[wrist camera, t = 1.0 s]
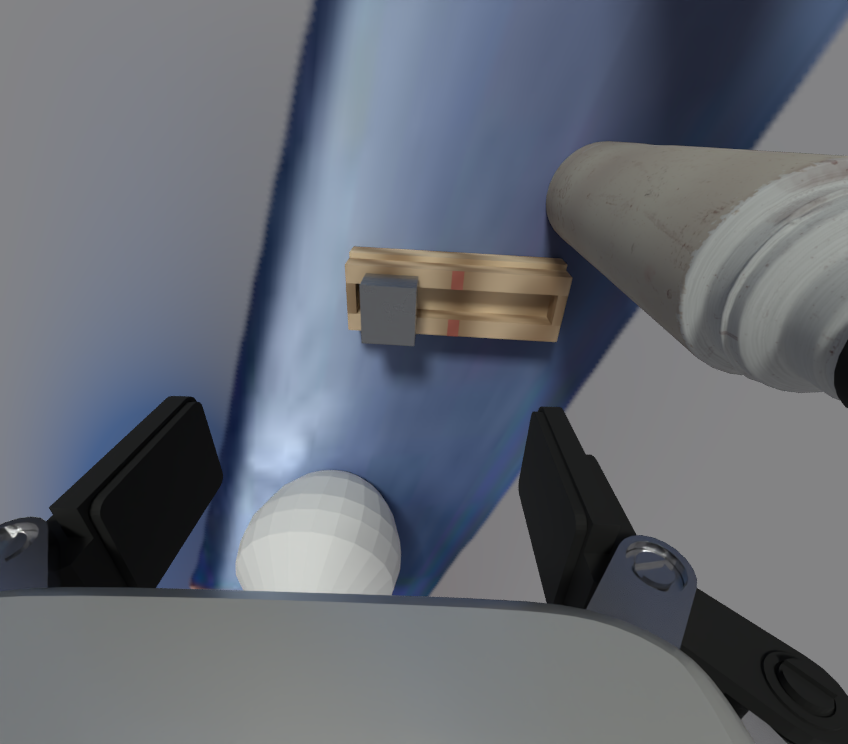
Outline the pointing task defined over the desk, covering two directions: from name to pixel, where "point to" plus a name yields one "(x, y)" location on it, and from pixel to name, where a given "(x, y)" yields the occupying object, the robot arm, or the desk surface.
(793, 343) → the thermos bottle
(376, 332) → the block
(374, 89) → the desk surface
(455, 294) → the rail
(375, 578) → the vase
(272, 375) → the desk surface
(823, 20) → the desk surface
